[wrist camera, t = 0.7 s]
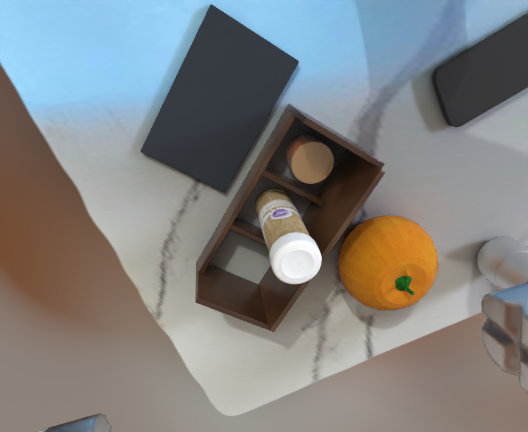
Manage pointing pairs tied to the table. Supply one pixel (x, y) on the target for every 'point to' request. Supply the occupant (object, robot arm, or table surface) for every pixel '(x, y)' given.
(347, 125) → the table surface
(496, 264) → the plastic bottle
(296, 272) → the sprinkles bottle
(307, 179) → the spice tin
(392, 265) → the fruit
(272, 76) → the rubber mat
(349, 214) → the spice rack
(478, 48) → the phone
